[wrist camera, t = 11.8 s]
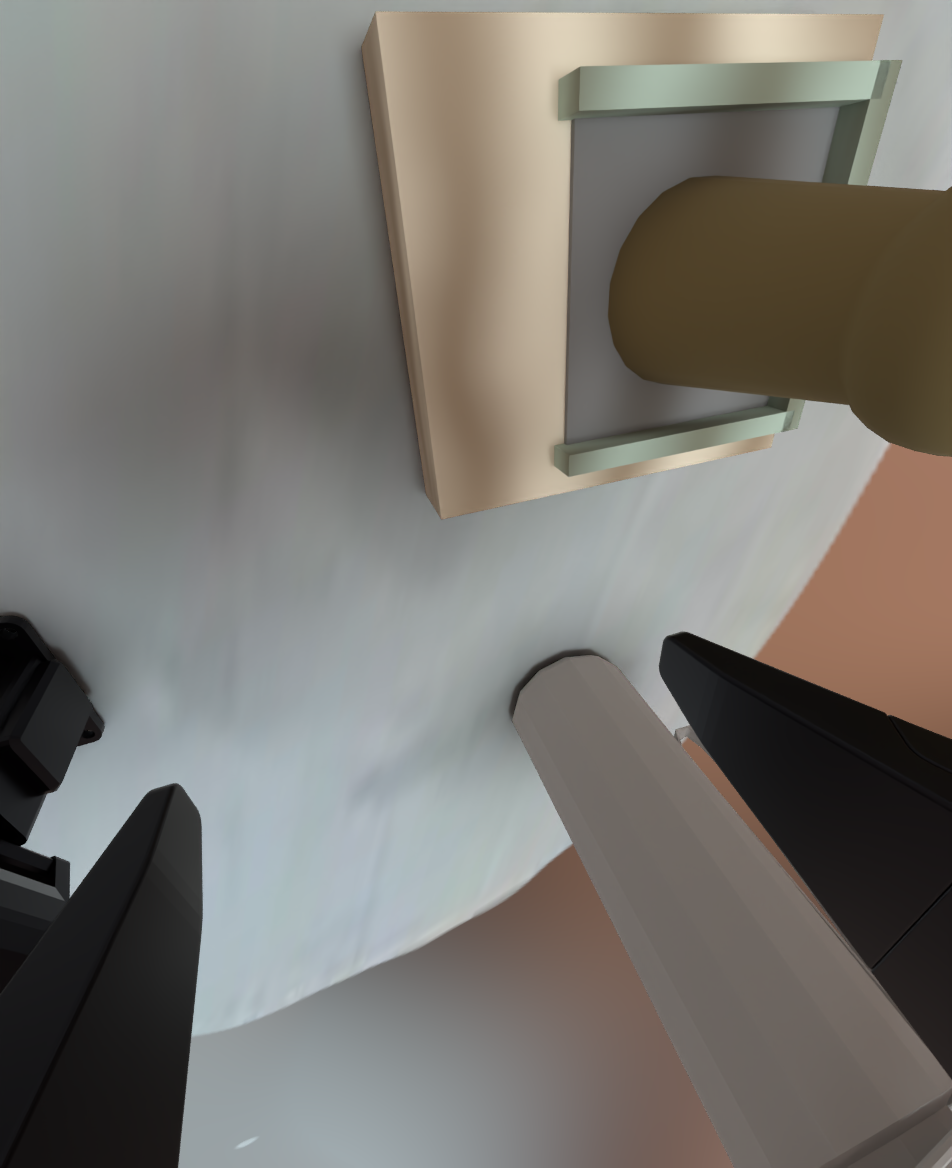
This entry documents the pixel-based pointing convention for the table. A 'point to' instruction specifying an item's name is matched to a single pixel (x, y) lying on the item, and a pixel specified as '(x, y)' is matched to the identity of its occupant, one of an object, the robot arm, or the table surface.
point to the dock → (583, 219)
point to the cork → (796, 298)
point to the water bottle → (731, 943)
